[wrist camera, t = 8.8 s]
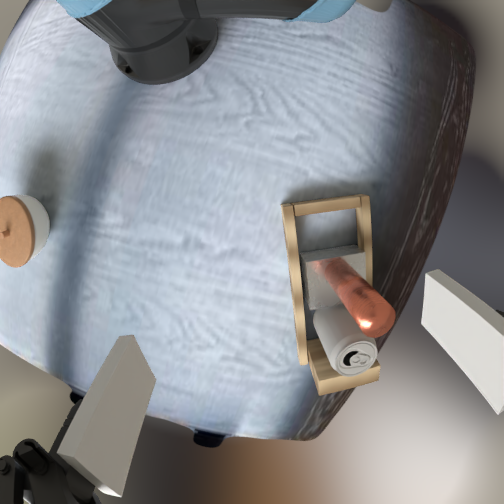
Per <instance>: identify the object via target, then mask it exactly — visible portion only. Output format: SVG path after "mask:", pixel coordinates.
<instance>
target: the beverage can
mask: <svg viewBox="0 0 504 504" xmlns="http://www.w3.org/2000/svg"><path fill="white" fill-rule="evenodd" d="M313 324H314V327H315V329H316V332H317V334H318V336H319V339H320V341H321V343H322V345H323V348H324V350H325V352H326V355H327V357H328V359H329V362H330V364H331V366H332V368H333V369H334V370H336V371H337V372H338V373H339V374H340V375H342V376H346V377H352V376H357V375H359V374H362V373H364V372H365V371H367V370H368V369H369V368H370V367H371V366H372V365H373V363H374V362H375V360H376V357H377V349H376V342H375V340H374V338H371V337H367V336H366V335H365V334H364V333H363V332H362V330H361V329H360V327H359V326H358V324H357V323H356V322H355V320H354V319H353V317H352V316H351V314H350V313H349V311H348V310H347V308H346V307H345V306H344V304H341V305H336V306H331V307H326V308H321V309H316V311H315V313H314V315H313Z"/></svg>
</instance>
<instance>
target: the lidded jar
mask: <svg viewBox="0 0 504 504" xmlns="http://www.w3.org/2000/svg"><path fill="white" fill-rule="evenodd" d="M49 229H50V220H49V216H48V213H47V211H46V210H45V208H44V206H43V205H42V204H41V203H40V202H39V201H38V200H37V199H35V198H34V197H31V196H28V195H14V196H6V197H3V198H1V199H0V258H1V260H2V261H3V262H4V263H6V264H7V265H9V266H11V267H21V266H23V265H24V264H26V263H27V262H28V261H30V260H31V259H33V258H34V257H35V256H37V255H38V254H39V253H40V252H41V250H42V249H43V248H44V246H45V244H46V242H47V239H48V236H49Z"/></svg>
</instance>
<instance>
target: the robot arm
mask: <svg viewBox="0 0 504 504" xmlns="http://www.w3.org/2000/svg"><path fill="white" fill-rule="evenodd" d="M56 1H57V2H58V3H59V4H60V5H61V6H62V7H63V8H65V9H66V11H67V13H68V14H69V15H70V16H71V17H73V18H75V19H76V20H78V21H79V22H80V23H82V24H83V25H84V26H86V27H87V28H88V29H90V30H91V31H92V32H94V33H95V34H96V35H98V36H99V37H100V38H102V39H103V40H104V41H106V42H107V43H108V44H109V47H110V51H111V54H112V58H113V61H114V63H115V65H116V66H117V68H118V69H119V70H120V71H121V72H122V73H123V74H125V75H126V76H127V77H129V78H130V79H132V80H134V81H136V82H139V83H143V84H150V85H157V84H165V83H170V82H173V81H176V80H179V79H181V78H183V77H185V76H187V75H189V74H190V73H192V72H194V71H195V70H196V69H198V68H199V67H200V66H201V65H202V64H203V63H204V62H205V61H206V60H207V59H208V57H209V56H210V55H211V53H212V51H213V49H214V47H215V45H216V42H217V37H218V29H217V23H216V19H215V18H264V19H279V20H283V21H285V22H294V21H307V22H317V23H326V22H330V21H332V20H334V19H337V18H339V17H341V16H342V15H344V14H345V13H346V12H347V11H348V10H349V9H350V8H351V6H352V5H353V4H354V3H355V1H356V0H56ZM421 324H422V325H423V326H424V327H425V328H426V329H427V330H428V332H430V334H432V336H433V337H434V338H435V339H436V340H437V341H438V343H439V344H440V345H441V346H442V347H443V348H444V349H445V350H446V351H447V353H448V354H449V355H450V356H451V357H452V358H453V359H454V361H456V363H457V364H458V365H459V367H460V368H461V369H462V370H463V371H464V373H465V374H466V375H467V376H468V377H469V379H470V380H471V381H472V382H473V384H474V385H475V386H476V387H477V388H478V390H479V391H480V392H481V393H482V395H483V396H484V397H485V399H486V400H487V401H488V402H489V404H490V405H491V406H492V408H493V409H494V410H495V412H496V413H497V414H500V413H501V412H502V411H504V312H501V311H499V310H496V311H495V310H493V309H492V308H491V307H490V306H488V305H487V304H486V303H484V302H483V301H482V300H480V299H479V298H478V297H476V296H475V295H474V294H472V293H471V292H470V291H468V290H467V289H466V288H464V287H463V286H461V285H460V284H459V283H457V282H455V281H454V280H453V279H451V278H450V277H449V276H447V275H446V274H444V273H443V272H442V271H440V270H439V269H437V270H434V271H431V272H428V273H426V275H425V291H424V303H423V314H422V322H421ZM155 382H156V378H155V376H154V375H153V373H152V371H151V369H150V367H149V365H148V363H147V361H146V359H145V357H144V355H143V353H142V351H141V349H140V347H139V345H138V343H137V341H136V339H135V337H134V335H126V336H119V338H118V339H117V341H116V343H115V344H114V346H113V348H112V349H111V351H110V353H109V355H108V356H107V358H106V360H105V361H104V363H103V365H102V367H101V368H100V370H99V372H98V374H97V375H96V377H95V379H94V381H93V383H92V384H91V386H90V388H89V390H88V392H87V394H86V395H85V397H84V399H80V400H79V401H78V402H77V403H76V404H75V405H74V406H73V407H72V409H71V411H70V413H69V414H68V416H67V419H66V420H65V422H64V424H63V427H62V428H61V430H60V432H59V433H58V435H57V437H56V440H55V441H54V443H53V446H52V448H51V450H50V452H49V453H47V452H46V451H45V450H44V449H43V448H42V447H41V446H40V445H39V444H38V442H36V441H35V440H34V439H25V440H23V441H21V442H20V443H19V444H18V445H17V446H16V447H15V449H14V451H13V457H11V456H8V455H5V456H3V457H1V458H0V504H23V503H24V501H23V500H25V501H26V502H28V503H29V504H101V502H100V500H99V498H98V496H97V495H96V494H95V493H94V492H93V491H94V488H95V487H97V488H98V489H99V490H101V491H102V492H103V493H105V494H109V495H114V496H119V497H122V493H123V490H124V486H125V482H126V478H127V474H128V471H129V467H130V464H131V460H132V457H133V453H134V450H135V446H136V443H137V439H138V436H139V433H140V429H141V426H142V423H143V420H144V416H145V413H146V410H147V407H148V404H149V401H150V398H151V395H152V392H153V388H154V385H155Z"/></svg>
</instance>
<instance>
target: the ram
mask: <svg viewBox="0 0 504 504" xmlns="http://www.w3.org/2000/svg"><path fill="white" fill-rule="evenodd" d="M300 256H301V266H302V276H303V287H304V298H305V300H306V302H307V304H308V307H309V309H310V310H316V309H321V308H326V307H331V306H336V305H341V304H344V306H345V307H346V308H347V310H348V311H349V313H350V314H351V316H352V317H353V319H354V320H355V322H356V323H357V324H358V326H359V327H360V329H361V330H362V332H363V333H364V334H365V335H366V336H367V337H371V338H375V337H379V336H382V335H383V334H385V333H386V332H388V331H389V330H390V328H391V327H392V325H393V324H394V321H395V311H394V309H393V307H392V306H391V305H390V304H389V303H388V302H387V301H386V300H385V299H384V298H383V297H382V296H381V295H380V294H379V293H378V292H377V291H376V290H375V289H374V288H373V287H372V286H371V285H370V284H369V283H368V282H367V281H366V256H365V251H363V250H362V249H361V248H359V247H358V246H356V245H355V244H353V245H347V246H341V247H335V248H328V249H322V250H316V251H310V252H304V253H300Z"/></svg>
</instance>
